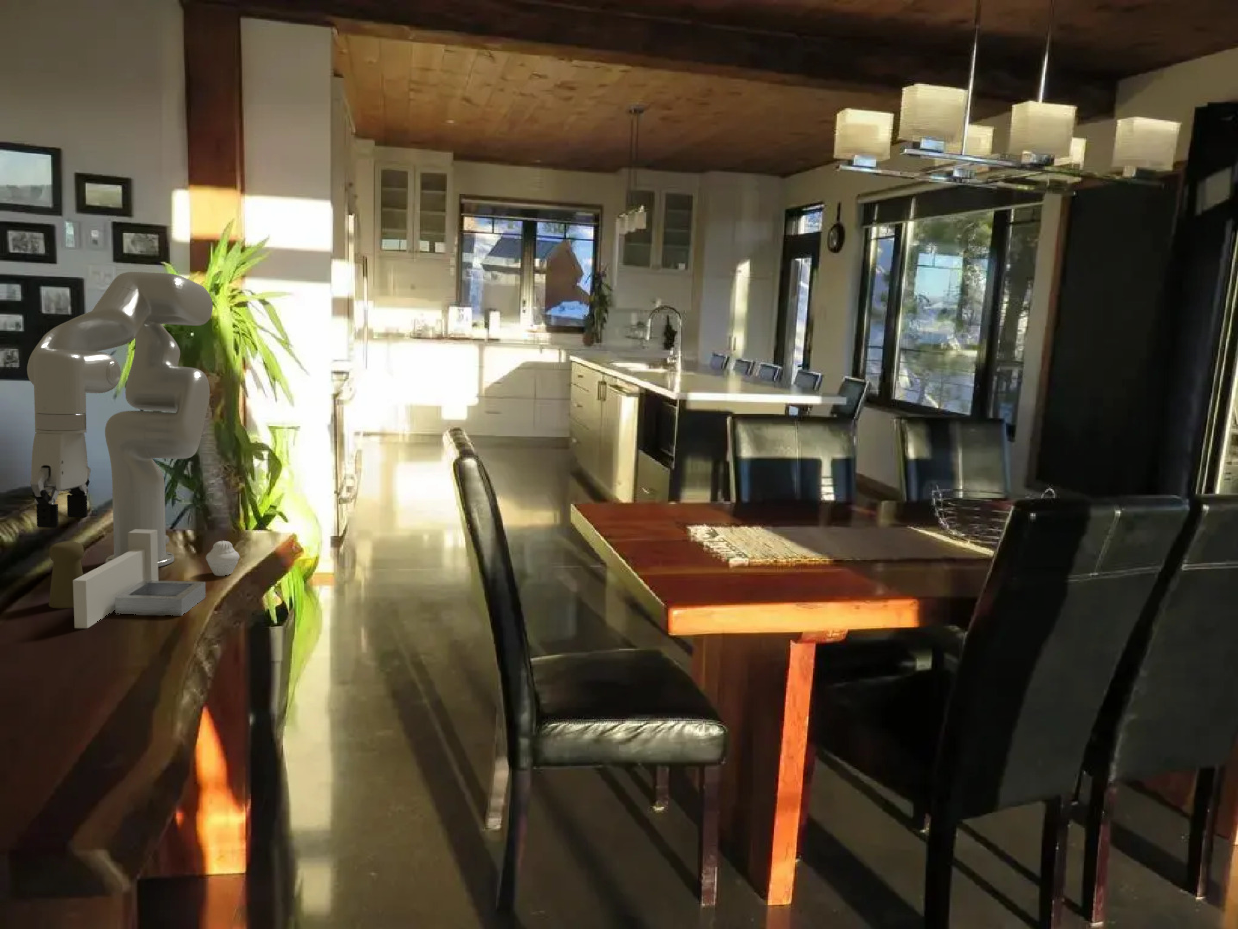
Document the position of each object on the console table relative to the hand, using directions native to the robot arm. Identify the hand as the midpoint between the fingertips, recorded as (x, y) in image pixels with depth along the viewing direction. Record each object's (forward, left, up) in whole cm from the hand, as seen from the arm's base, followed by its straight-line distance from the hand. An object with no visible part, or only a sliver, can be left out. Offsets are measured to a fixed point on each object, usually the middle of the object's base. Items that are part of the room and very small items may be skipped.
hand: (63, 522), depth 157 cm
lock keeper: (-1, +16, -15) cm, 22 cm away
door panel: (0, +9, -15) cm, 17 cm away
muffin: (-23, +19, -15) cm, 33 cm away
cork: (-1, 0, -15) cm, 15 cm away
